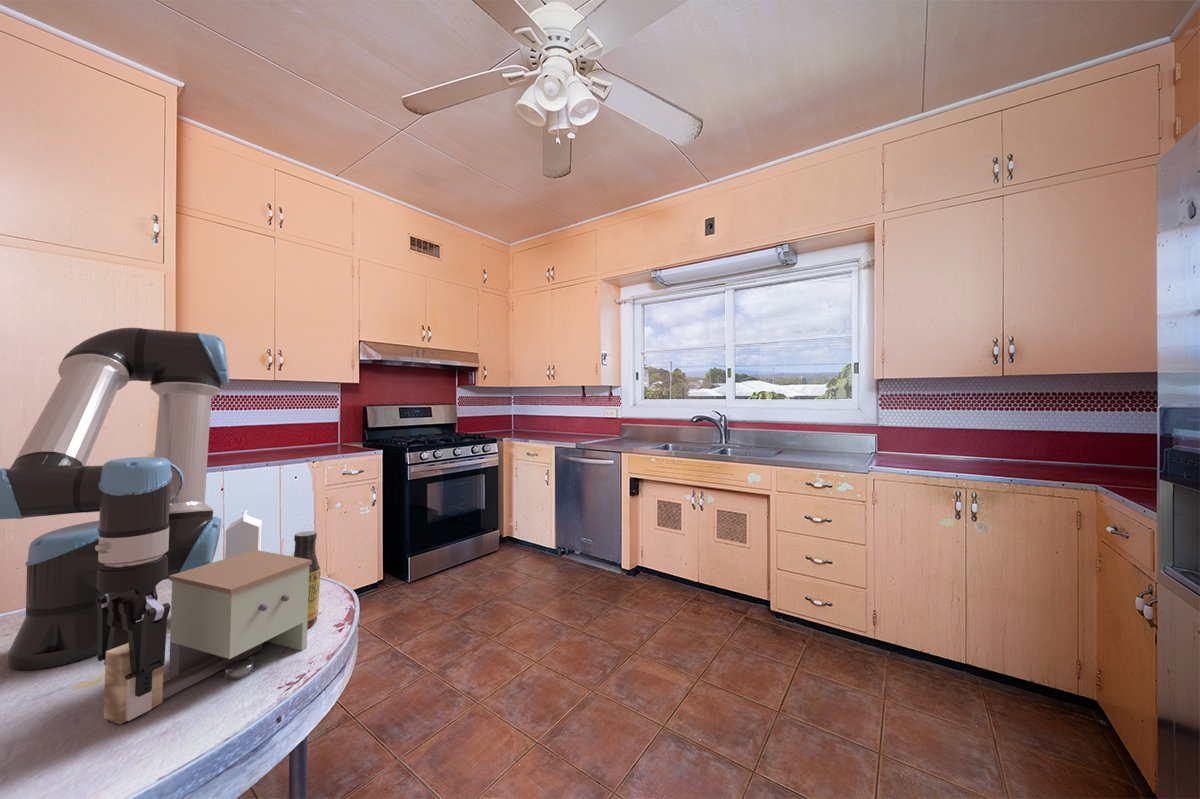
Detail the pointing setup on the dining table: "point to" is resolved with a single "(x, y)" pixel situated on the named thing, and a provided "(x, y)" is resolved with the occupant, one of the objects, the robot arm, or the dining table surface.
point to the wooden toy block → (120, 666)
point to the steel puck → (239, 669)
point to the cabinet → (238, 607)
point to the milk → (243, 536)
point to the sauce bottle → (307, 551)
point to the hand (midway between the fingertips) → (128, 710)
